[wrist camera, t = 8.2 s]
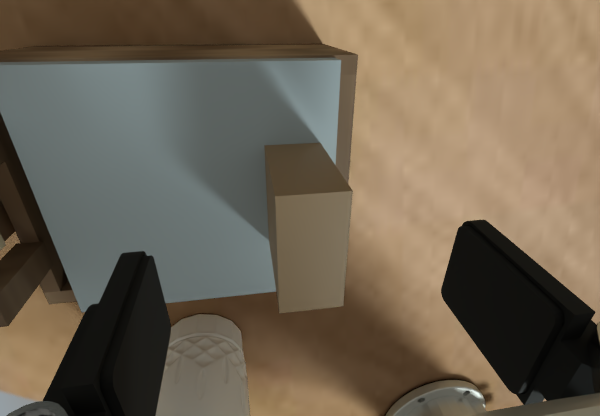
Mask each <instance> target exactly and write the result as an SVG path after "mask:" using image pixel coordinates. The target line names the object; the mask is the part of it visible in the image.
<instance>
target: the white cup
mask: <svg viewBox="0 0 600 416" xmlns="http://www.w3.org/2000/svg"><path fill="white" fill-rule="evenodd" d="M156 416H250V405H249V392H248V379H247V372H246V362H245V359H244V354H243V342H242V334H241V331H240V329H239V328H238V327H237V326H236V325H235V324H234V323H233V322H232V321H231V320H229V319H226V318H224V317H221V316H219V315H211V314H197V315H194V316H190V317H187V318H184V319H181V320H180V321H179V322H177V323H176V324H175V325H174V326H172V327H171V335H170V340H169V346H168V351H167V357H166V362H165V367H164V373H163V378H162V383H161V389H160V394H159V399H158V405H157V410H156Z"/></svg>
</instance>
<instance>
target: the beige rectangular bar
mask: <svg viewBox="0 0 600 416" xmlns="http://www.w3.org/2000/svg"><path fill="white" fill-rule="evenodd" d="M5 245H6V244H5V242H4V240H3V238H2V236H1V234H0V250H1V249H2V248H3V247H4V246H5Z"/></svg>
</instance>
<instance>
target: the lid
mask: <svg viewBox="0 0 600 416" xmlns="http://www.w3.org/2000/svg"><path fill="white" fill-rule="evenodd" d="M340 73H341V60H340V59H337V58H272V59H201V60H129V61H58V62H0V112H1V115H2V117H3V120H4V122H5V125H6V127H7V130H8V132H9V135H10V137H11V140H12V142H13V145H14V147H15V149H16V152H17V154H18V157H19V159H20V162H21V164H22V167H23V169H24V172H25V174H26V177H27V179H28V181H29V184H30V186H31V189H32V191H33V194H34V196H35V199H36V201H37V204H38V206H39V209H40V211H41V214H42V216H43V218H44V221H45V223H46V226H47V228H48V231H49V233H50V236H51V238H52V241H53V243H54V246H55V248H56V250H57V253H58V255H59V258H60V260H61V263H62V265H63V268H64V270H65V273H66V275H67V278H68V280H69V282H70V285H71V287H72V290H73V292H74V295H75V297H76V300H77V302H78V305H79V307H80V310H81V312H86V310H87V309H88V307H89V306H90V305H92V304H98V303H99V302H100V299H101V297H102V295H103V293H104V291H105V288H106V286H107V284H108V282H109V279H110V277H111V275H112V273H113V270H114V268H115V266H116V264H117V262H118V259H119V257H120V255H121V254H122V253H127V252H138V251H144V252H145V253H146V255H147V256H150V255H152V256H153V257H154V260H155V264H156V268H157V272H158V276H159V280H160V284H161V288H162V292H163V296H164V300H165V303H174V302H183V301H192V300H202V299H211V298H220V297H230V296H239V295H248V294H258V293H267V292H276V293H277V300H278V307H279V314H280V313H289V312H298V311H306V310H315V309H324V308H332V307H341V306H343V301H344V289H345V277H346V265H347V253H348V241H349V229H350V217H351V204H352V192H353V191H352V189H351V188H350V186H349V185H348V183H347V182H346V180H345V179H344V177H343V176H342V174H341V173H340V171H339V170H338V168H337V167H336V146H337V128H338V110H339V91H340Z"/></svg>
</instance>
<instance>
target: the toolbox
mask: <svg viewBox="0 0 600 416" xmlns="http://www.w3.org/2000/svg"><path fill="white" fill-rule="evenodd" d="M272 58H337V59H340V60H341V73H340V91H339V110H338V128H337V146H336V167H337V168H338V170H339V171H340V173H341V174H342V176H343V177H344V179H345V180H346V182H347V183H348V180H349V166H350V153H351V140H352V126H353V113H354V100H355V86H356V73H357V60H358V55H357V54H354V53H351V52H347V51H344V50H341V49H338V48H335V47H331V46H328V45H325V44H254V45H134V46H32V47H25V48H18V49H11V50H4V51H0V62H58V61H129V60H201V59H272ZM15 231H16V234H17V236H18V238H19V240H20V242H21V243H20V244H16V245H15V246H14V247H13V248H12V249H11V250H10V251H9V252H8V253H7V254H6V255H5V256H4V257H3V258H2V259H1V260H0V327H4V326H9V324H10V323H11V322H12V320H13V319H14V318H15V316H16V315H17V314H18V312H19V311H20V310H21V308H22V307H23V306H24V304H25V303H26V301H27V300H28V299H29V297H30V296H31V295H32V293H33V292H34V291H35V289H36V288H37V287H38V285H39V284H40V286H41V288H42V290H43V292H44V295H45V297H46V299H47V301H48V303H49V304H56V303H66V302H76V301H77V300H76V297H75V295H74V292H73V290H72V287H71V285H70V282H69V280H68V278H67V275H66V273H65V270H64V268H63V265H62V263H61V260H60V258H59V255H58V253H57V250H56V248H55V246H54V243H53V241H52V238H51V236H50V233H49V231H48V228H47V226H46V223H45V221H44V218H43V216H42V214H41V211H40V209H39V206H38V204H37V201H36V199H35V196H34V194H33V191H32V189H31V186H30V184H29V181H28V179H27V177H26V174H25V172H24V169H23V167H22V164H21V162H20V159H19V157H18V154H17V152H16V149H15V147H14V145H13V142H12V140H11V137H10V135H9V132H8V130H7V127H6V125H5V122H4V120H3V117H2V115H1V112H0V234H1V236H2V238H3V240H4V241H5V240H6V239H8V238H9V237H10V236H11V235H12V234H13V233H14V232H15Z"/></svg>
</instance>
